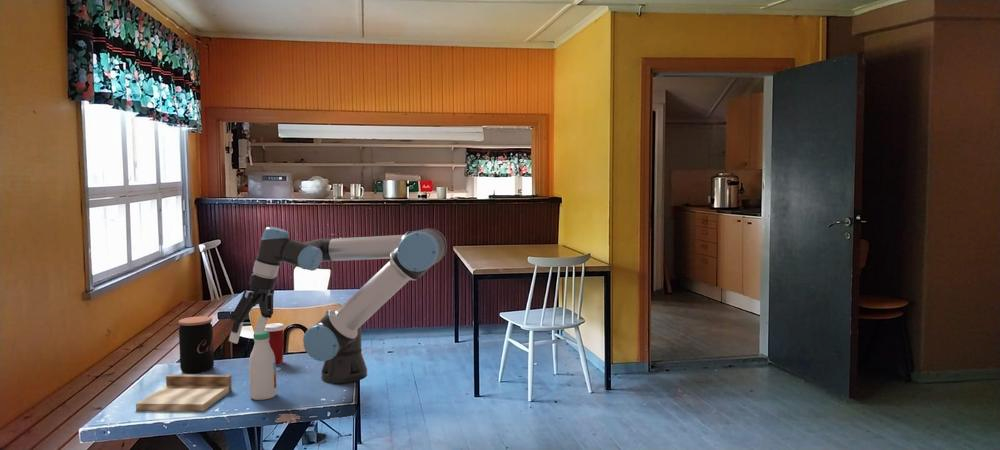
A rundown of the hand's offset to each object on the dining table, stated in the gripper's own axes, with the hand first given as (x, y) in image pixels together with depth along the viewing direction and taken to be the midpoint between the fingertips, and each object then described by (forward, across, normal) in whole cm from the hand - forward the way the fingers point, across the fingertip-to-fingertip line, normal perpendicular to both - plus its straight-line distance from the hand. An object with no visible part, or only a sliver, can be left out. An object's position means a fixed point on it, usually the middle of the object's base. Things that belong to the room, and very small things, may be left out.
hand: (245, 339), depth 204 cm
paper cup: (+15, -29, -3) cm, 33 cm away
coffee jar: (+22, -16, -24) cm, 36 cm away
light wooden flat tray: (+20, +11, -7) cm, 24 cm away
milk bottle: (+14, +4, +13) cm, 20 cm away
